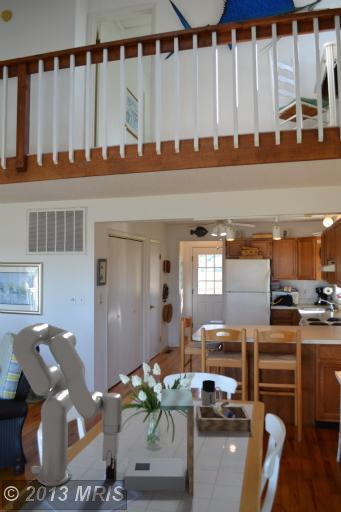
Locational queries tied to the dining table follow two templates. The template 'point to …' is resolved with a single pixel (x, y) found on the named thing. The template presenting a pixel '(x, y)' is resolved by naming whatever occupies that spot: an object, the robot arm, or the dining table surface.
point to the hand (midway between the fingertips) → (111, 475)
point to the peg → (115, 471)
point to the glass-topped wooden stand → (184, 401)
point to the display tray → (222, 420)
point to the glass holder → (209, 393)
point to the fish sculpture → (222, 411)
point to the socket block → (155, 474)
